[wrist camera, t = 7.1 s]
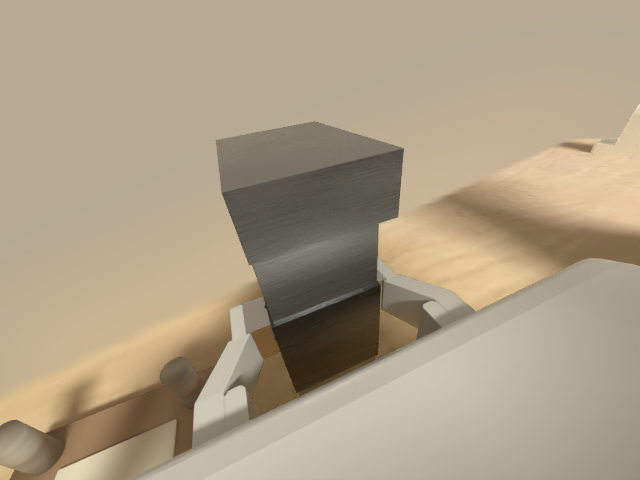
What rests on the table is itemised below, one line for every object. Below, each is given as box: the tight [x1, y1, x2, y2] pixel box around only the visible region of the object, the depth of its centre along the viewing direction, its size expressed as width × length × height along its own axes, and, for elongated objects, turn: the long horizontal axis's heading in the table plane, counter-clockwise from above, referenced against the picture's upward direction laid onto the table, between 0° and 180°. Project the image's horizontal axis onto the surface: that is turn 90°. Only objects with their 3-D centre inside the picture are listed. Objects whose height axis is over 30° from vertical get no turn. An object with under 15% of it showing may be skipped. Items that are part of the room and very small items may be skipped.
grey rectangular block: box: [216, 122, 404, 396], centre depth 10 cm, size 4×5×13 cm
